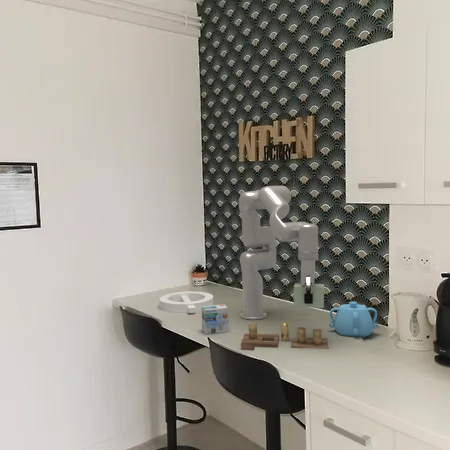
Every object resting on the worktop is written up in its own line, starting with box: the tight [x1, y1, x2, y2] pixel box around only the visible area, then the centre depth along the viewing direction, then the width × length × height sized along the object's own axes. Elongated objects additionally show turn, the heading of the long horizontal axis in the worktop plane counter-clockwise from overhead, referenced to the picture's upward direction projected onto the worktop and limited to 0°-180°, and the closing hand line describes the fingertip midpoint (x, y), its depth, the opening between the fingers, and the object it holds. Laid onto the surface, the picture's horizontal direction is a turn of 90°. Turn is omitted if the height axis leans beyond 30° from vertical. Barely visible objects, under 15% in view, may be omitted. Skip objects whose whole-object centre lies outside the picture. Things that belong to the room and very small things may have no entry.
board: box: [290, 326, 330, 350], centre depth 190 cm, size 12×14×7 cm
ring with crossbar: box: [159, 290, 214, 314], centre depth 257 cm, size 28×28×5 cm
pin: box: [280, 321, 290, 342], centre depth 194 cm, size 3×3×8 cm
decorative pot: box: [328, 301, 379, 339], centre depth 202 cm, size 16×16×14 cm
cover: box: [293, 282, 325, 309], centre depth 191 cm, size 7×11×8 cm, turn 78°
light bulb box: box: [201, 304, 230, 335], centre depth 212 cm, size 11×7×11 cm, turn 105°
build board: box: [240, 322, 280, 351], centre depth 193 cm, size 12×14×8 cm
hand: (308, 300), depth 191 cm, fingers closed on cover, 6 cm apart
